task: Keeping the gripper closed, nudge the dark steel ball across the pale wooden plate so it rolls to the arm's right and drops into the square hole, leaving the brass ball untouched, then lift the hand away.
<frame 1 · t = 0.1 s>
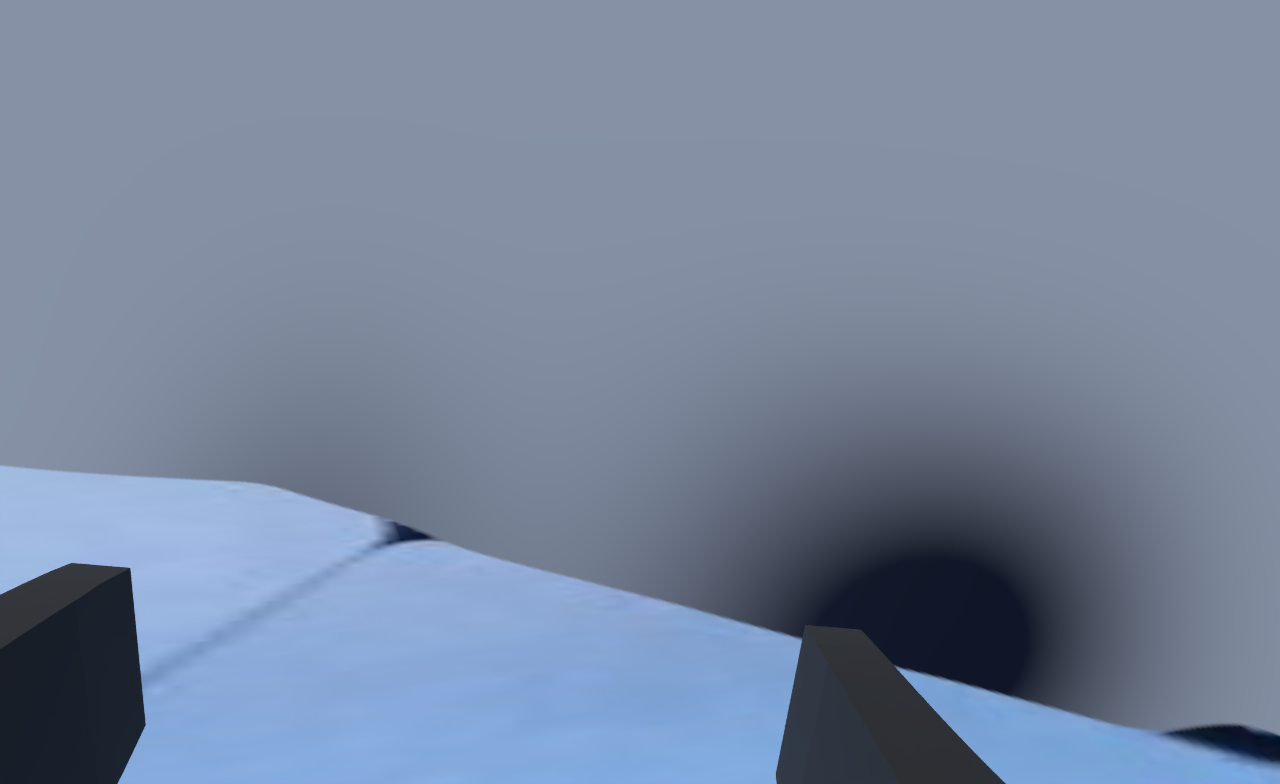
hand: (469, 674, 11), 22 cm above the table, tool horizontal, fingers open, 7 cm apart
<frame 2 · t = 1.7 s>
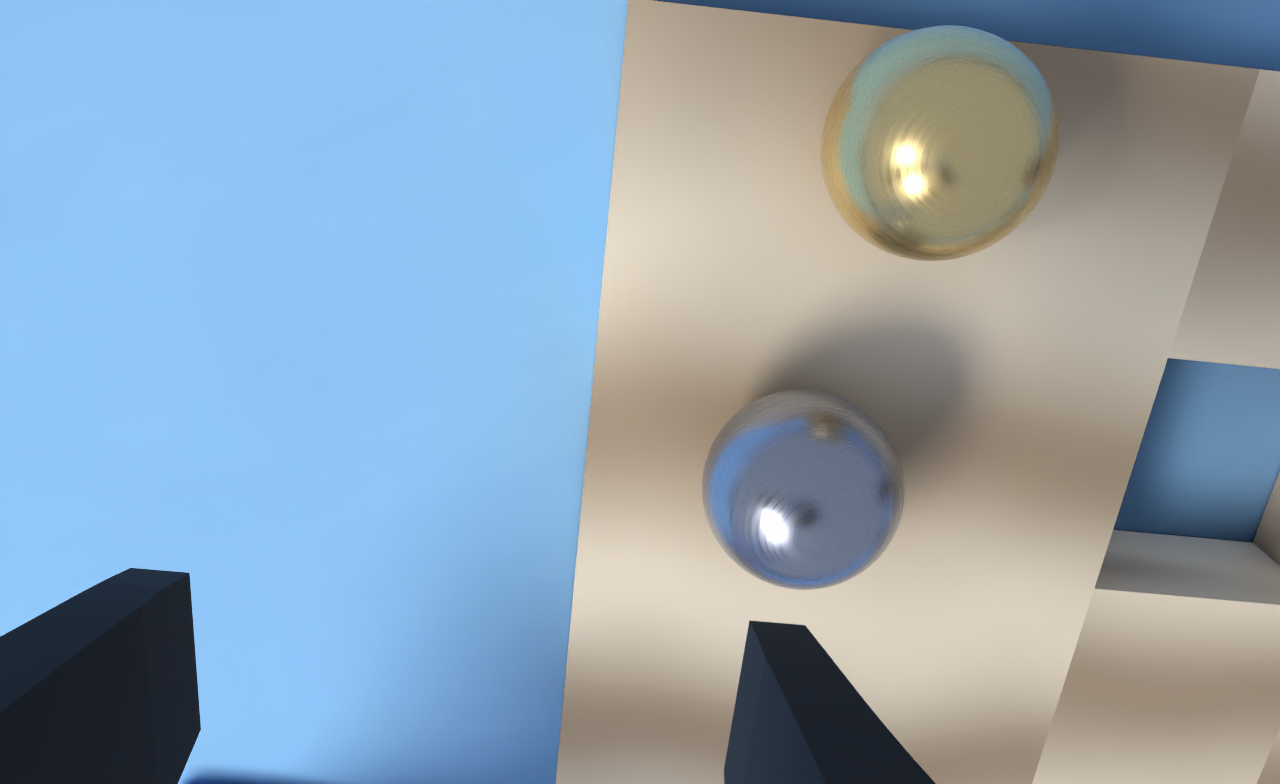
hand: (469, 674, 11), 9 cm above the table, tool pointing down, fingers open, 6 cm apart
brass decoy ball: (935, 146, 14), point 4 cm above the table, touching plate
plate: (1006, 440, 20), on the table
steel ball: (801, 488, 16), point 4 cm above the table, touching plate
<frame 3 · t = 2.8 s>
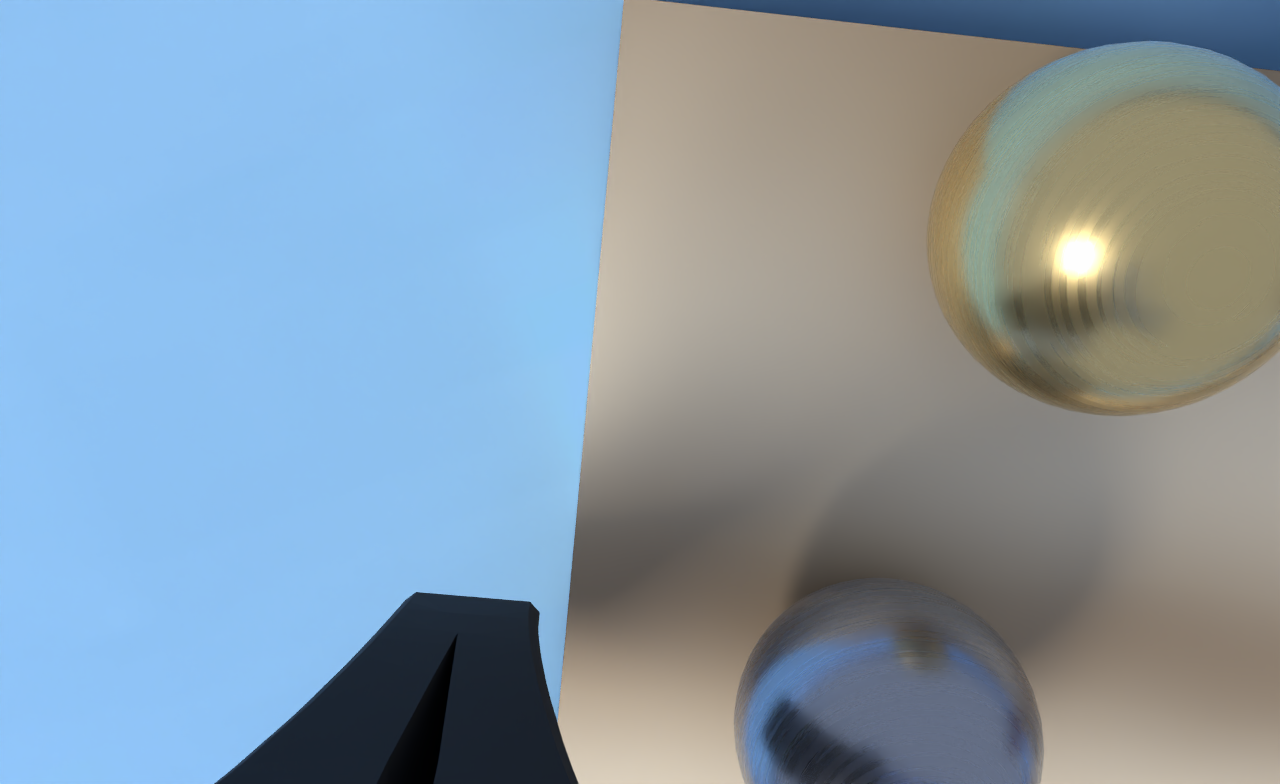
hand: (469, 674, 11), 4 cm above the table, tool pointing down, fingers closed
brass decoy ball: (1115, 234, 9), point 4 cm above the table, touching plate
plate: (1136, 596, 15), on the table
steel ball: (883, 729, 10), point 4 cm above the table, touching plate
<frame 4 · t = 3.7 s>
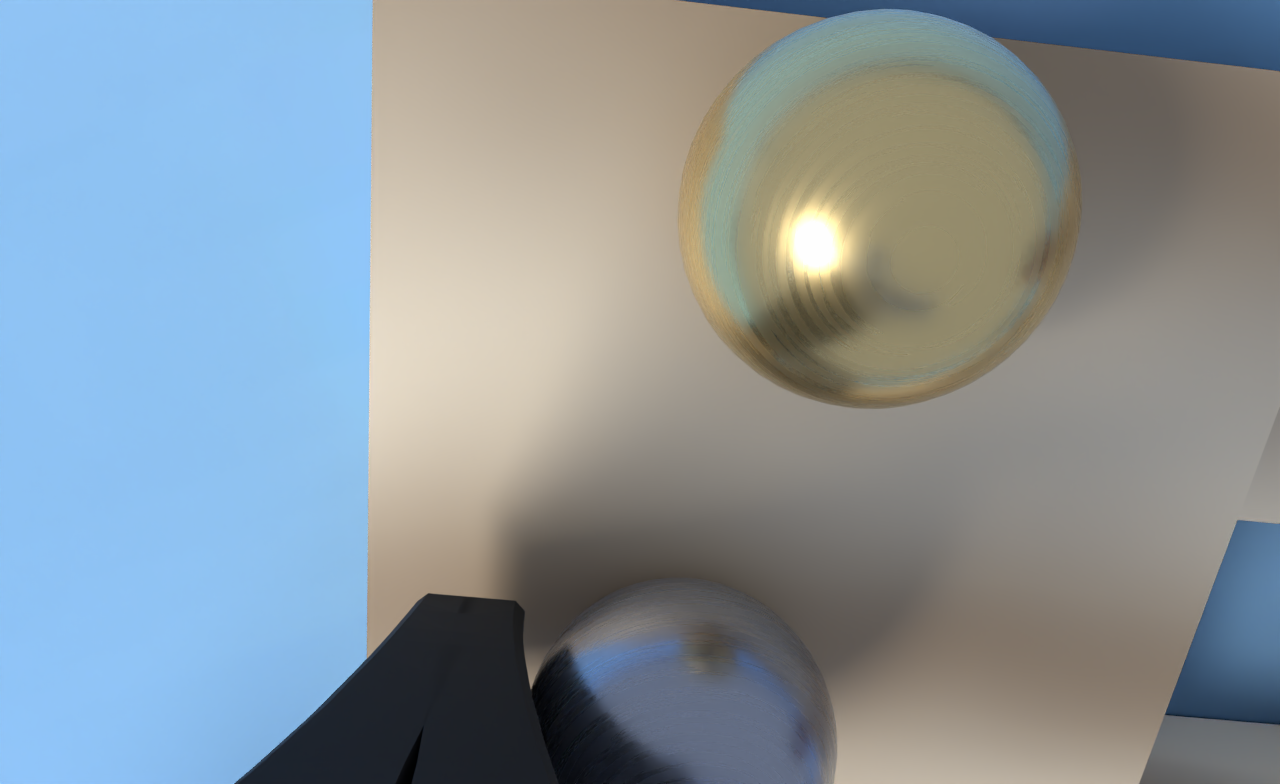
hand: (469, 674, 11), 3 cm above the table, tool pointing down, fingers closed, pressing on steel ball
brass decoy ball: (870, 216, 8), point 4 cm above the table, touching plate
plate: (996, 598, 14), on the table
steel ball: (678, 735, 10), point 4 cm above the table, touching gripper, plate
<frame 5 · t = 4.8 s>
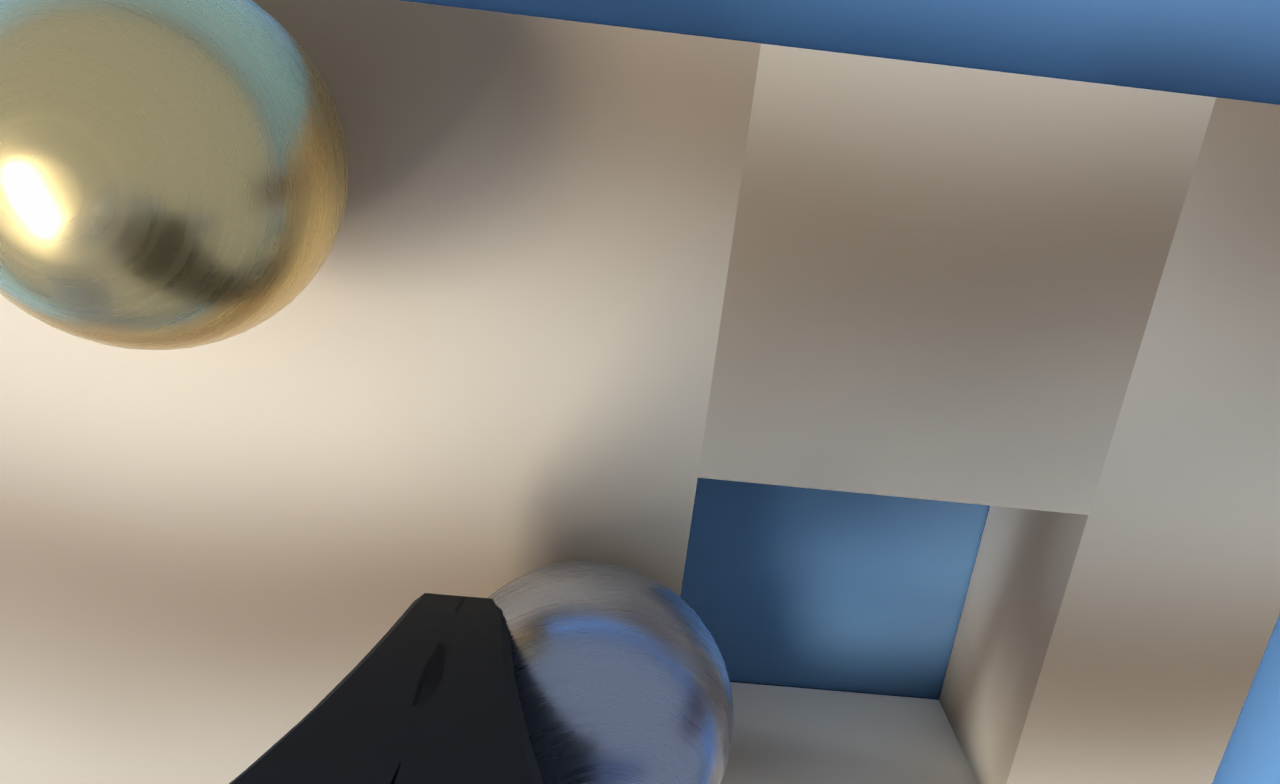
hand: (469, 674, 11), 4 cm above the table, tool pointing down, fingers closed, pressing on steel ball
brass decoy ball: (152, 161, 8), point 4 cm above the table, touching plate
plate: (581, 566, 14), on the table
steel ball: (583, 712, 10), point 4 cm above the table, tilted 170°, touching gripper, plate
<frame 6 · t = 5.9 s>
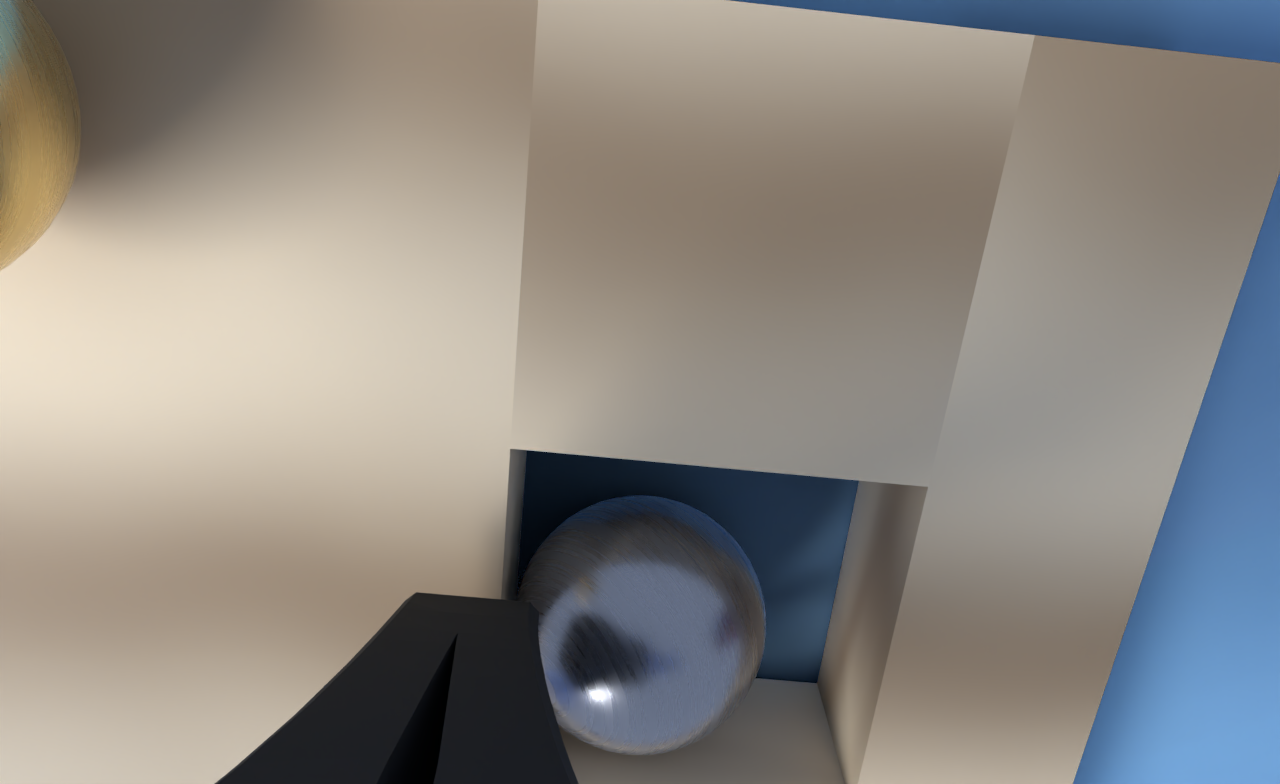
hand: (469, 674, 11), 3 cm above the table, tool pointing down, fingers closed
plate: (435, 546, 14), on the table
steel ball: (639, 621, 12), point 2 cm above the table, tilted 47°
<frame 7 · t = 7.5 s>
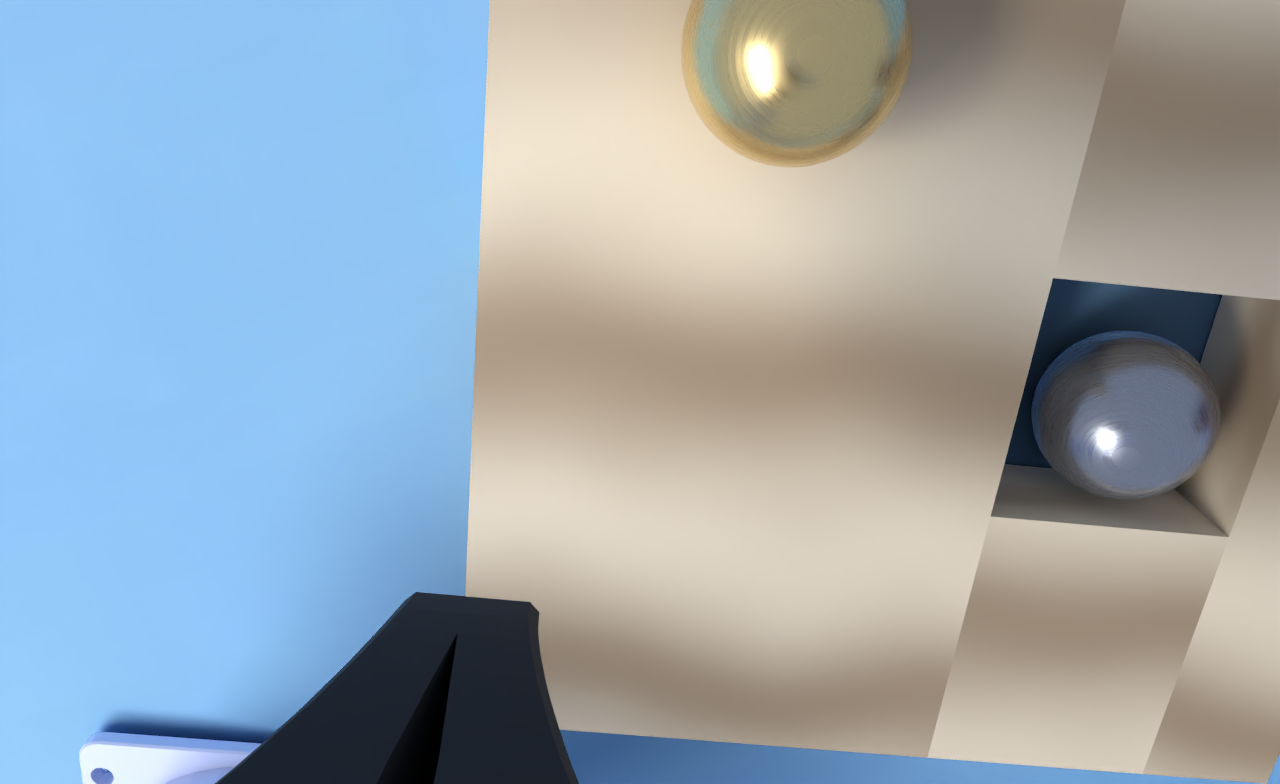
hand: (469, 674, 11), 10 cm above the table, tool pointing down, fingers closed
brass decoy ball: (794, 50, 14), point 4 cm above the table, touching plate
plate: (911, 374, 20), on the table
steel ball: (1122, 414, 18), point 2 cm above the table, tilted 23°
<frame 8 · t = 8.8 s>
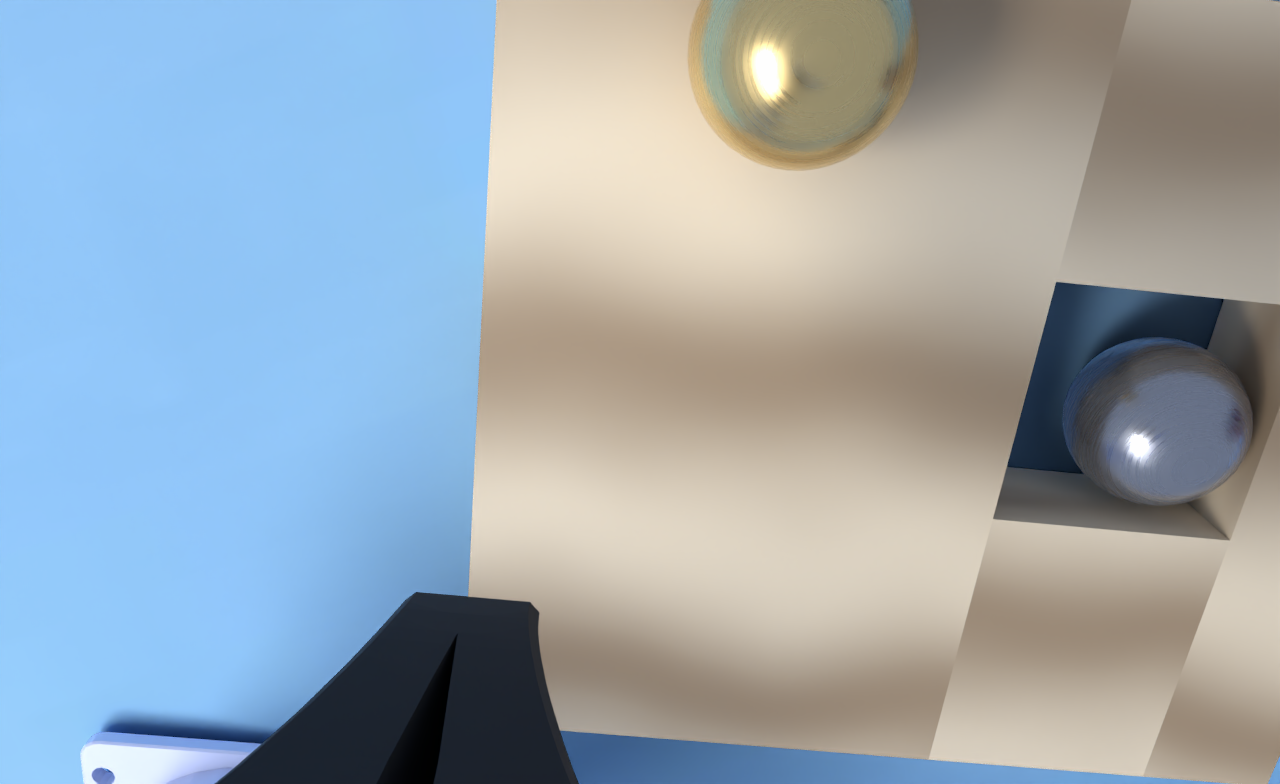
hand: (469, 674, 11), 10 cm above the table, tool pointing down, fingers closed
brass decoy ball: (800, 54, 14), point 4 cm above the table, touching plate
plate: (913, 377, 20), on the table
steel ball: (1153, 421, 19), point 2 cm above the table, tilted 10°
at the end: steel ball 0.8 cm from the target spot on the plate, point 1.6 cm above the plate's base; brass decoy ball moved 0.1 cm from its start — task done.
